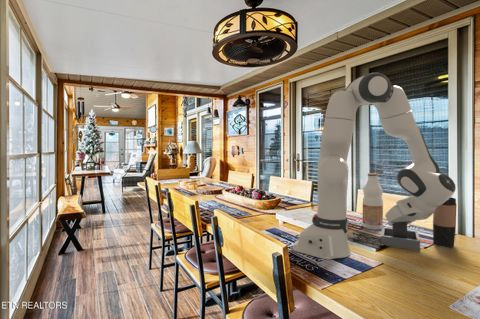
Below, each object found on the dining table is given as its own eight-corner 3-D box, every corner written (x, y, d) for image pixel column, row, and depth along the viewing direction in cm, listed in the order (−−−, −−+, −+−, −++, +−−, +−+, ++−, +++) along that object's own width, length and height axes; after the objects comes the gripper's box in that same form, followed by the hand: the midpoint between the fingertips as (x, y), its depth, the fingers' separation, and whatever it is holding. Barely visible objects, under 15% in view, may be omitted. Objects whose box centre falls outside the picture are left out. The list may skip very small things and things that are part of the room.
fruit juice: (370, 230, 136) (371, 174, 135) (358, 225, 145) (359, 173, 144) (386, 229, 138) (387, 174, 137) (373, 224, 147) (374, 172, 146)
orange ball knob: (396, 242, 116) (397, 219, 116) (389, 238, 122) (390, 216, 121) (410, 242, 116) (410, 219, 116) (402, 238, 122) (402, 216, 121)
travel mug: (452, 249, 111) (453, 200, 110) (430, 244, 117) (431, 197, 116) (457, 244, 116) (458, 198, 115) (435, 240, 122) (436, 195, 121)
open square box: (380, 245, 117) (380, 235, 116) (382, 235, 129) (382, 227, 128) (420, 251, 110) (420, 241, 109) (417, 240, 122) (417, 231, 122)
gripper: (434, 197, 114) (413, 215, 124) (394, 200, 109) (375, 218, 119) (444, 210, 110) (422, 227, 120) (403, 214, 105) (383, 232, 115)
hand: (398, 223), depth 119 cm, fingers open, 8 cm apart
